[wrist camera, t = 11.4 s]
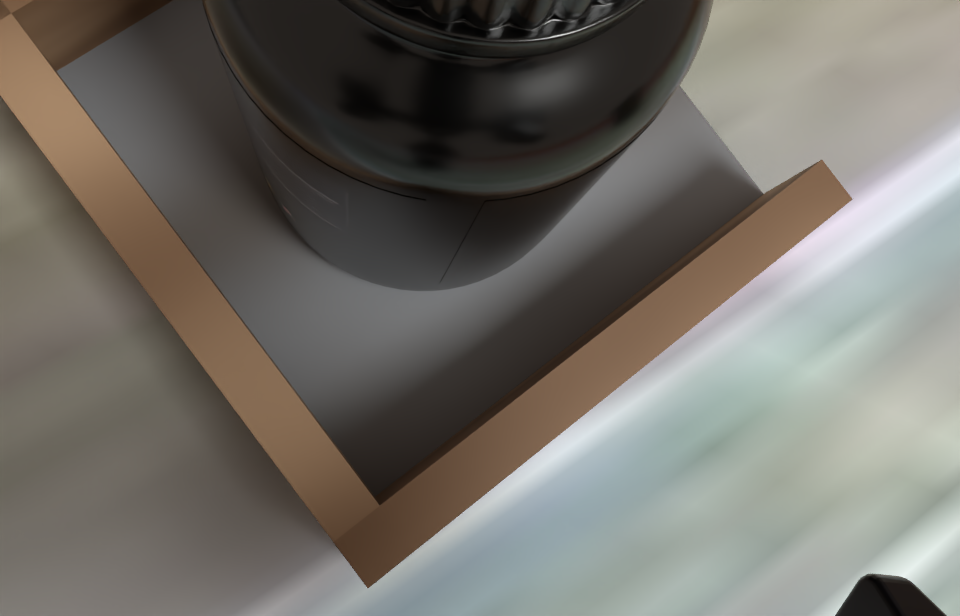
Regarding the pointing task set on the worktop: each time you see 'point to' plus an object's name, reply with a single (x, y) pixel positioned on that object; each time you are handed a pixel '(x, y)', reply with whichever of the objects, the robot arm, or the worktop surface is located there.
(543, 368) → the bay
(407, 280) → the supplement bottle
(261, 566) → the worktop surface
